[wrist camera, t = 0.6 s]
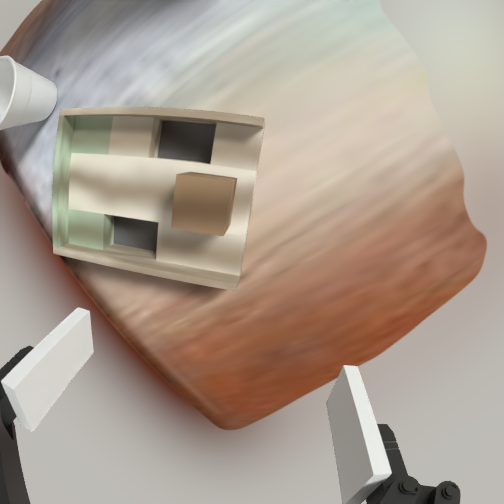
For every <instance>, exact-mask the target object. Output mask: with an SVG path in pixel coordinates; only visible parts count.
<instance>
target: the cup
mask: <svg viewBox="0 0 504 504" xmlns="http://www.w3.org/2000/svg"><path fill="white" fill-rule="evenodd" d="M57 95H58V93H57V87H56V85H55V84H54V83H53V82H52V81H50V80H48V79H46V78H45V77H43V76H41V75H39V74H37V73H35V72H33V71H32V70H30V69H28V68H26V67H24V66H22V65H21V64H19V63H17V62H15V61H14V60H13V59H12V58H11V57H9V56H1V57H0V130H3V129H7V128H10V127H15V126H20V125H24V124H29V123H34V122H39V121H43V120H45V119H46V118H47V117H48V116H49V115H50V114H51V113H52V111H53V109H54V107H55V105H56V102H57Z"/></svg>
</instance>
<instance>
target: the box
mask: <svg viewBox="0 0 504 504" xmlns="http://www.w3.org/2000/svg"><path fill="white" fill-rule="evenodd" d="M163 120H167V121H163ZM177 121H181V122H177ZM190 122H193V123H190ZM201 123H204V124H201ZM211 124H213V125H211ZM264 128H265V121H264V118H261V117H255V116H248V115H240V114H232V113H223V112H214V111H203V110H191V109H177V108H157V107H89V108H70V109H60V115H59V121H58V129H57V137H56V146H55V157H54V171H53V194H52V231H53V253H54V254H58V255H62V256H66V257H70V258H75V259H79V260H83V261H88V262H92V263H96V264H101V265H105V266H110V267H114V268H119V269H124V270H128V271H133V272H138V273H143V274H148V275H153V276H158V277H163V278H168V279H173V280H178V281H183V282H188V283H193V284H199V285H204V286H210V287H215V288H221V289H226V290H232V291H236V290H237V287H238V283H239V279H240V275H241V270H242V264H243V257H244V251H245V245H246V238H247V232H248V226H249V219H250V213H251V207H252V201H253V195H254V188H255V182H256V176H257V170H258V164H259V158H260V152H261V146H262V140H263V134H264ZM159 157H162V158H159ZM169 158H172V159H169ZM178 159H182V160H178ZM187 160H191V161H187ZM196 161H199V162H196ZM204 162H207V163H204ZM185 172H198V173H206V174H213V175H220V176H227V177H234V178H237V184H236V190H235V197H234V204H233V210H232V217H231V224H230V226H229V228H228V230H227V231H226V233H225V235H224V236H217V235H211V234H205V233H199V232H193V231H187V230H181V229H175V228H171V219H172V209H173V200H174V190H175V182H176V174H180V173H185Z"/></svg>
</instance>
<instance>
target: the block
mask: <svg viewBox="0 0 504 504" xmlns="http://www.w3.org/2000/svg"><path fill="white" fill-rule="evenodd" d="M236 184H237V178H234V177H227V176H220V175H213V174H206V173H198V172H185V173H180V174H176V182H175V190H174V200H173V209H172V219H171V228H175V229H181V230H187V231H193V232H199V233H205V234H211V235H217V236H224V235H225V233H226V231H227V230H228V228H229V226H230V224H231V217H232V210H233V204H234V197H235V190H236Z"/></svg>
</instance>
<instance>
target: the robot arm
mask: <svg viewBox="0 0 504 504" xmlns="http://www.w3.org/2000/svg"><path fill="white" fill-rule="evenodd" d="M93 352H94V350H93V342H92V332H91V321H90V311H88V310H85V309H82V308H79V307H78V308H77V309H76V310H74V312H72V313H71V314H70V315H69V316H68V317H67V318H66V319H65V320H63V321H62V322H61V323H60V324H59V325H58V326H57V327H56V328H55V329H54V330H52V331H51V332H50V333H49V334H48V335H47V336H46V337H45V338H44V339H43V340H42V341H41V342H40V343H39V344H38V345H37V346H36V347H35V348H33V347H31V346H28V347H26V348H23V349H21V350H20V351H19V352H18V353H17V354H16V355H15V356H14V357H13V358H12V359H11V360H10V361H9V362H7V363H6V365H4V366H3V367H2V368H1V369H0V504H30V501H29V497H28V493H27V489H26V486H25V481H24V477H23V472H22V468H21V463H20V457H19V452H18V446H17V439H16V432H15V425H14V422H13V420H14V419H15V418H16V417H17V419H18V421H19V423H20V425H22V426H23V427H25V428H27V429H28V430H30V431H32V432H33V431H34V430H35V429H36V427H37V426H38V424H39V423H40V422H41V420H42V419H43V417H44V416H45V415H46V413H47V412H48V411H49V409H50V408H51V407H52V405H53V404H54V403H55V401H56V400H57V399H58V397H59V396H60V395H61V393H62V392H63V391H64V389H65V388H66V387H67V385H68V384H69V383H70V382H71V380H72V379H73V378H74V376H75V375H76V374H77V373H78V371H79V370H80V369H81V368H82V366H83V365H84V364H85V362H86V361H87V360H88V359H89V357H90V356H91V355H92V354H93ZM326 405H327V409H328V416H329V421H330V427H331V433H332V439H333V445H334V451H335V457H336V463H337V470H338V476H339V483H340V490H341V496H342V504H361V503H362V502H363V501H364V500H365V499H366V502H367V504H460V490H459V488H458V486H457V485H456V484H455V483H453V482H451V481H444V482H442V483H440V484H439V485H438V486H437V487H431V486H423V485H420V484H419V483H418V481H417V480H416V479H414V478H413V477H410V476H408V474H407V471H406V468H405V465H404V462H403V459H402V456H401V453H400V450H399V449H398V448H399V447H398V444H397V443H396V438H395V436H394V433H393V431H392V430H391V429H390V428H389V426H388V425H387V424H377V423H376V420H375V417H374V414H373V411H372V407H371V404H370V402H369V399H368V396H367V393H366V390H365V387H364V384H363V381H362V378H361V375H360V373H359V370H358V367H357V366H347V365H343V368H342V370H341V372H340V374H339V377H338V379H337V381H336V383H335V385H334V388H333V389H332V392H331V394H330V396H329V398H328V400H327V402H326Z"/></svg>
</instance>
